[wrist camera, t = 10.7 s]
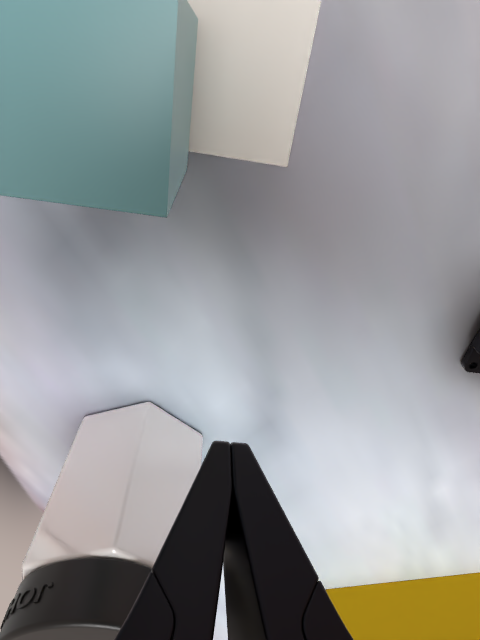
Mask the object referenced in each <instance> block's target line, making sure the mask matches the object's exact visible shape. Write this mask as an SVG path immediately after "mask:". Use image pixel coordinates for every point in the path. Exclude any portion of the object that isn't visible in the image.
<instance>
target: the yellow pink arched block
mask: <svg viewBox="0 0 480 640" xmlns="http://www.w3.org/2000/svg"><path fill="white" fill-rule="evenodd" d="M325 590H326V592H327V594H328V596H329V598H330V600H331V602H332V603H333V605H334V607H335V609H336V610H337V612H338V614H339V616H340V618H341V619H342V621H343V623H344V625H345V626H346V628H347V630H348V631H349V633H350V634H351V636H352V638H353V639H354V640H480V573H472V574H463V575H454V576H444V577H435V578H426V579H417V580H408V581H399V582H389V583H380V584H371V585H362V586H353V587H344V588H335V589H325Z"/></svg>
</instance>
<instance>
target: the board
mask: <svg viewBox="0 0 480 640" xmlns="http://www.w3.org/2000/svg"><path fill="white" fill-rule="evenodd" d="M187 1H188V3H189V4H190V6H191V8H192V9H193V11H194V13H195V15H196V16H197V18H198V28H197V42H196V55H195V69H194V82H193V96H192V109H191V123H190V137H189V150H188V151H189V152H195V153H201V154H208V155H214V156H220V157H227V158H233V159H239V160H245V161H252V162H258V163H264V164H271V165H277V166H283V167H287V165H288V160H289V156H290V151H291V146H292V141H293V136H294V131H295V126H296V122H297V117H298V112H299V107H300V102H301V97H302V92H303V87H304V83H305V78H306V73H307V68H308V63H309V58H310V53H311V49H312V44H313V39H314V34H315V29H316V24H317V19H318V14H319V10H320V5H321V0H187Z"/></svg>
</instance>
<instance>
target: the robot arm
mask: <svg viewBox="0 0 480 640" xmlns="http://www.w3.org/2000/svg"><path fill="white" fill-rule="evenodd" d="M471 363H472V364H471ZM461 364H462V366H463V368H464V369H465V370H466V371H467V372H473V373H480V329H479V331H478V333H477V335H476V336H475V338H474V340H473V342H472V344H471V345H470V347H469V349H468V351H467V353H466V354H465V356H464V358H463V360H462V362H461ZM222 566H224V581H225V597H226V613H227V629H228V640H354V639H353V638H352V636H351V634H350V633H349V631H348V630H347V628H346V626H345V625H344V623H343V621H342V619H341V618H340V616H339V614H338V612H337V610H336V609H335V607H334V605H333V603H332V602H331V600H330V598H329V596H328V594H327V592H326V590H325V588H324V586H323V585H322V583H321V581H318V575H317V574H316V572H315V570H314V568H313V566H312V564H311V562H310V560H309V558H308V556H307V555H306V553H305V551H304V549H303V547H302V545H301V543H300V541H299V539H298V538H297V536H296V534H295V532H294V530H293V528H292V526H291V524H290V522H289V520H288V519H287V517H286V515H285V513H284V511H283V509H282V507H281V505H280V503H279V502H278V500H277V498H276V496H275V494H274V492H273V490H272V488H271V486H270V485H269V483H268V481H267V479H266V477H265V475H264V473H263V471H262V469H261V467H260V466H259V464H258V462H257V460H256V458H255V456H254V454H253V452H252V450H251V449H250V447H249V445H248V444H246V443H237V442H233V443H231V444H230V443H229V442H225V441H214V442H213V443H212V444H211V447H210V449H209V451H208V453H207V455H206V457H205V459H204V461H203V463H202V465H201V467H200V469H199V471H198V474H197V476H196V478H195V480H194V482H193V484H192V486H191V488H190V490H189V492H188V494H187V496H186V498H185V501H184V503H183V505H182V507H181V509H180V511H179V513H178V515H177V517H176V519H175V521H174V523H173V525H172V528H171V530H170V532H169V534H168V536H167V538H166V540H165V542H164V544H163V546H162V548H161V550H160V552H159V554H158V557H157V559H156V561H155V563H154V565H153V567H152V569H151V572H150V573H149V575H148V577H147V579H146V581H145V583H144V585H143V587H142V589H141V591H140V593H139V595H138V597H137V599H136V601H135V603H134V605H133V607H132V609H131V611H130V612H129V614H128V616H127V618H126V620H125V622H124V623H123V625H122V627H121V628H120V630H119V632H118V633H117V635H116V637H115V639H114V640H213V635H214V627H215V619H216V612H217V604H218V597H219V589H220V581H221V574H222ZM317 581H318V582H317Z"/></svg>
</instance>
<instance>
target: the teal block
mask: <svg viewBox="0 0 480 640" xmlns="http://www.w3.org/2000/svg"><path fill="white" fill-rule="evenodd" d="M197 28H198V18H197V16H196V15H195V13H194V11H193V9H192V8H191V6H190V4H189V3H188V1H187V0H0V195H2V196H10V197H17V198H24V199H32V200H39V201H47V202H54V203H62V204H69V205H77V206H84V207H91V208H99V209H106V210H114V211H121V212H129V213H136V214H144V215H151V216H159V217H166V218H167V216H168V214H169V211H170V209H171V207H172V204H173V202H174V199H175V197H176V195H177V192H178V190H179V187H180V185H181V183H182V180H183V178H184V175H185V173H186V171H187V164H188V150H189V137H190V123H191V109H192V96H193V82H194V69H195V55H196V42H197Z"/></svg>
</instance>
